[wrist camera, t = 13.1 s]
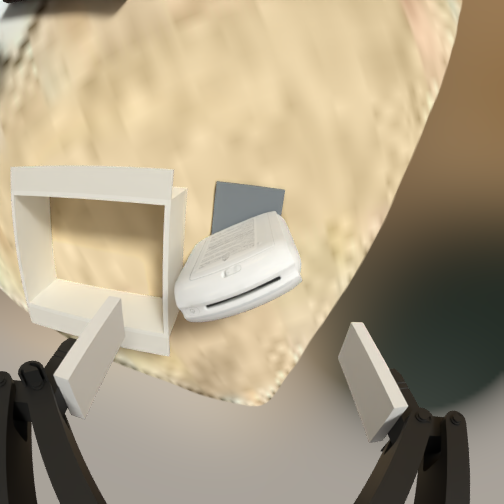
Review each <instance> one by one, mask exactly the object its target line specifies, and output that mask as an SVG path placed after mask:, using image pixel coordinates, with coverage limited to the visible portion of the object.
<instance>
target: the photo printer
mask: <svg viewBox="0 0 504 504" xmlns="http://www.w3.org/2000/svg"><path fill="white" fill-rule="evenodd" d="M300 271H301V259H300V255H299V253H298V250H297V248H296V245H295V243H294V241H293V238H292V236H291V233H290V231H289V228H288V226H287V224H286V222H285V220H284V219H283V218H282V217H281V216H280V215H279V214H277V213H276V211H272V212H267V213H263V214H260V215H258V216H255V217H252V218H250V219H247V220H245V221H242V222H240V223H238V224H235V225H233V226H231V227H228V228H226V229H224V230H221V231H219V232H217V233H215V234H213V235H210V236H208V237H206V238H205V239H203V240H201V241H200V242H198V243H197V244H196V245H195V246H194V248H193V250H192V252H191V254H190V256H189V258H188V260H187V262H186V264H185V265H184V267H183V269H182V271H181V273H180V275H179V277H178V279H177V281H176V283H175V287H174V295H175V301H176V305H177V307H178V308H179V309H180V310H181V312H182V313H183V315H184V318H185V319H186V320H187V321H190V322H207V321H213V320H218V319H223V318H226V317H230V316H233V315H236V314H240V313H242V312H245V311H248V310H251V309H253V308H256V307H258V306H261V305H263V304H265V303H268V302H270V301H272V300H274V299H276V298H278V297H280V296H282V295H283V294H285V293H287V292H289V291H290V290H292V289H293V288H294V287H296V286H297V285H298V284H299V283H301V282H302V278H301V275H300Z"/></svg>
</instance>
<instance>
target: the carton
mask: <svg viewBox="0 0 504 504" xmlns="http://www.w3.org/2000/svg"><path fill="white" fill-rule="evenodd" d="M173 176H174V170H173V169H158V168H142V167H120V166H23V167H11V201H12V216H13V227H14V236H15V244H16V251H17V257H18V263H19V269H20V274H21V279H22V284H23V289H24V293H25V297H26V301H27V305H28V309H29V313H30V317H31V320H32V322H33V323H35V324H38V325H41V326H45V327H48V328H51V329H54V330H58V331H61V332H64V333H68V334H71V335H75V336H78V337H79V336H80V335H81V333H82V332H83V330H84V329H85V328H86V326H87V325H88V323H89V322H90V321H91V319H92V318H93V317H94V315H95V314H96V312H97V311H98V310H99V308H100V307H101V306H102V304H103V303H104V302H105V301H106V299H107V298H108V297H109V296H113V297H118V298H121V303H122V313H123V321H124V329H125V338H124V340H123V342H122V344H121V346H120V347H123V348H128V349H133V350H137V351H142V352H148V353H153V354H158V355H164V356H170V345H169V336H170V334H171V331H172V328H173V326H174V323H175V320H176V318H177V315H178V313H179V310H180V309H179V308H178V307H177V305H176V301H175V295H174V287H175V283H176V281H177V279H178V277H179V275H180V273H181V271H182V269H183V253H184V235H185V219H186V206H187V193H188V188H184V187H173ZM50 197H63V198H79V199H94V200H108V201H121V202H133V203H144V204H155V205H165V213H164V236H163V298H161V297H155V296H149V295H142V294H136V293H130V292H124V291H119V290H113V289H107V288H102V287H97V286H91V285H86V284H81V283H76V282H71V281H66V280H62V279H57V275H56V268H55V260H54V252H53V243H52V232H51V217H50Z"/></svg>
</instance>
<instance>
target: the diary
mask: <svg viewBox="0 0 504 504" xmlns="http://www.w3.org/2000/svg"><path fill="white" fill-rule="evenodd" d="M17 1H22V0H3V2H6V3H12V2H17Z"/></svg>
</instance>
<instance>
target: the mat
mask: <svg viewBox="0 0 504 504" xmlns="http://www.w3.org/2000/svg"><path fill="white" fill-rule="evenodd" d="M284 193H285V190H282V189H275V188H268V187H261V186H253V185H245V184H237V183H228V182H219V181H217V184H216V194H215V203H214V213H213V223H212V234H211V235H213V234H215V233H217V232H219V231H221V230H224V229H226V228H228V227H231V226H233V225H235V224H238V223H240V222H242V221H245V220H247V219H250V218H252V217H255V216H258V215H260V214H263V213H267V212H272V211H276V213H277V214H279V215H280V216H281V212H282V206H283V200H284Z"/></svg>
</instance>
